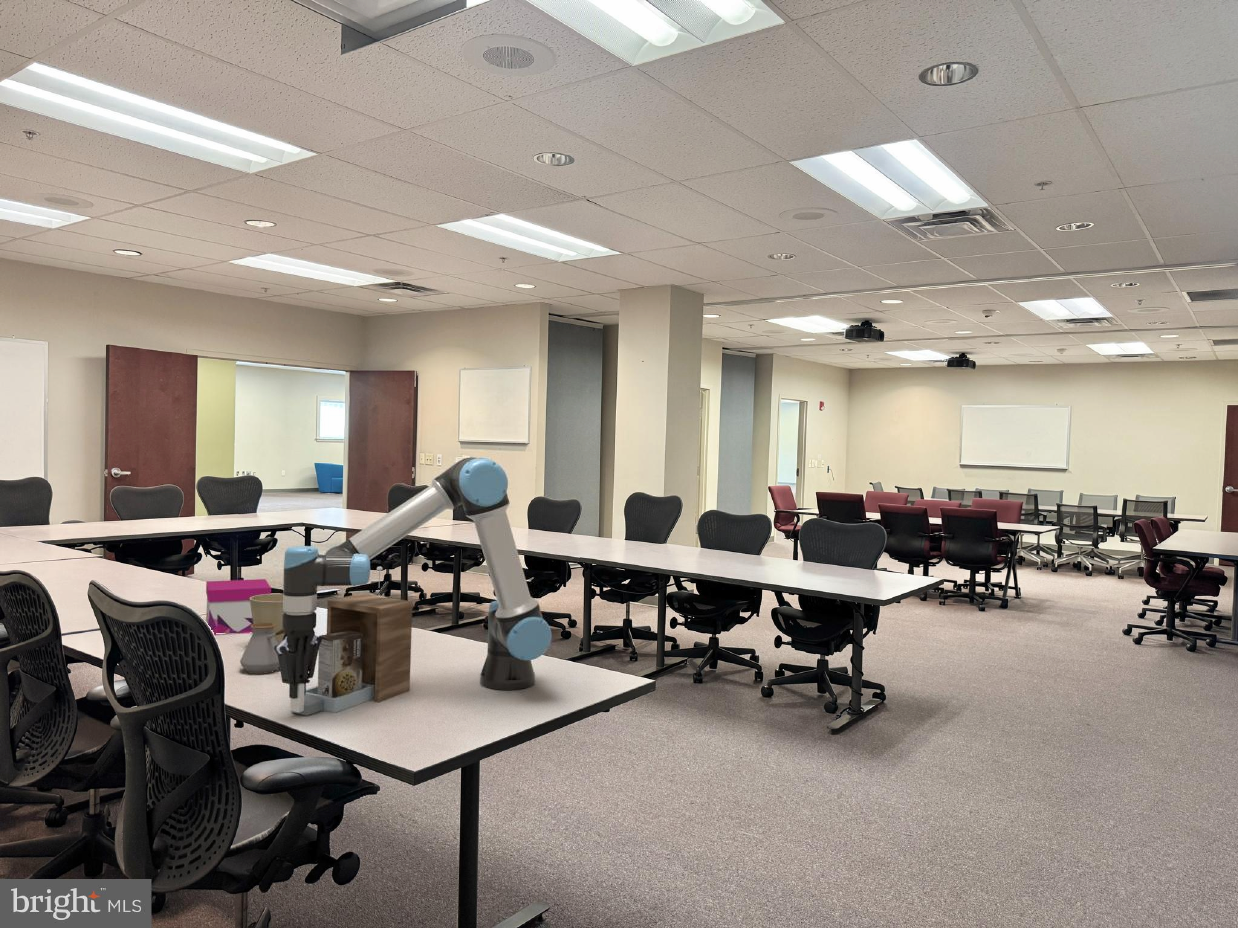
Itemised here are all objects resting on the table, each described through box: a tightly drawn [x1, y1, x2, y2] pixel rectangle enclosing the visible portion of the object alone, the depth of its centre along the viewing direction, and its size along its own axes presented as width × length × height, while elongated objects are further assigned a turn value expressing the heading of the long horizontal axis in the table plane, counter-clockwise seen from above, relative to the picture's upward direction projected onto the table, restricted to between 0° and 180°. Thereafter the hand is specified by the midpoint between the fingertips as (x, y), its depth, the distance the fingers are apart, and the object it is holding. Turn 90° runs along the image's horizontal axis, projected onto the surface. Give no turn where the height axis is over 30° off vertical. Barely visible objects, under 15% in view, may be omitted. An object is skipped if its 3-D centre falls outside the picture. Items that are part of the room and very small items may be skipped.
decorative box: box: [205, 578, 272, 636], centre depth 291 cm, size 19×19×15 cm
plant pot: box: [250, 593, 285, 645], centre depth 266 cm, size 15×15×16 cm
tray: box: [290, 683, 375, 717], centre depth 211 cm, size 12×20×3 cm, turn 154°
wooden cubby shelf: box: [326, 593, 413, 703], centre depth 223 cm, size 18×12×24 cm, turn 64°
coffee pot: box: [239, 623, 285, 675], centre depth 237 cm, size 21×12×15 cm, turn 52°
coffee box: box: [317, 630, 363, 698], centre depth 214 cm, size 9×6×16 cm
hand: (297, 710), depth 202 cm, fingers closed
